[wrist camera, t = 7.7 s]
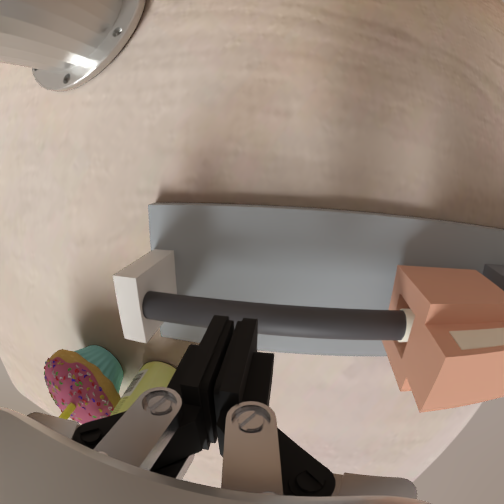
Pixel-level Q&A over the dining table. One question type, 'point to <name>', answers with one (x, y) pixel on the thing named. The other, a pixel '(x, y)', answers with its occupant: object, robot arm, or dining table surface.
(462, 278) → the sleeve
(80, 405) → the cupcake
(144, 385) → the tube
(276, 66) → the dining table surface
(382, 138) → the dining table surface
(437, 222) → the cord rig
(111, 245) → the dining table surface
